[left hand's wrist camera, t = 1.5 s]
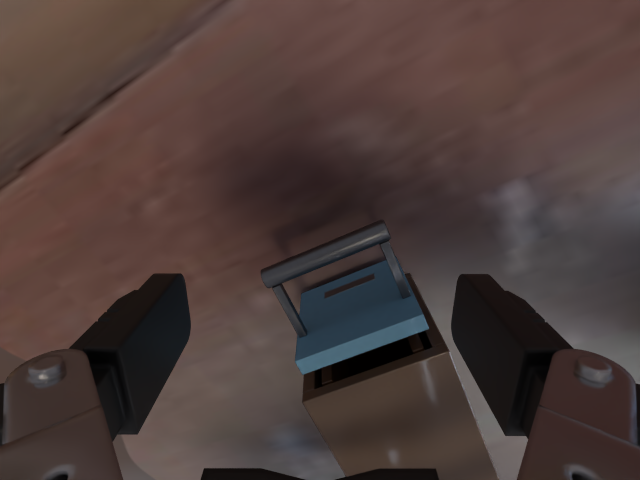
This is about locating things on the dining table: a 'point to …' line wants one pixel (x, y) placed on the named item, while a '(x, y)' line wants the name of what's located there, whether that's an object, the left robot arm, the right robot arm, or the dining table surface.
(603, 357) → the left robot arm
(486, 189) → the dining table surface
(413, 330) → the drawer
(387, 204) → the dining table surface
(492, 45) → the dining table surface
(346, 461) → the cabinet
